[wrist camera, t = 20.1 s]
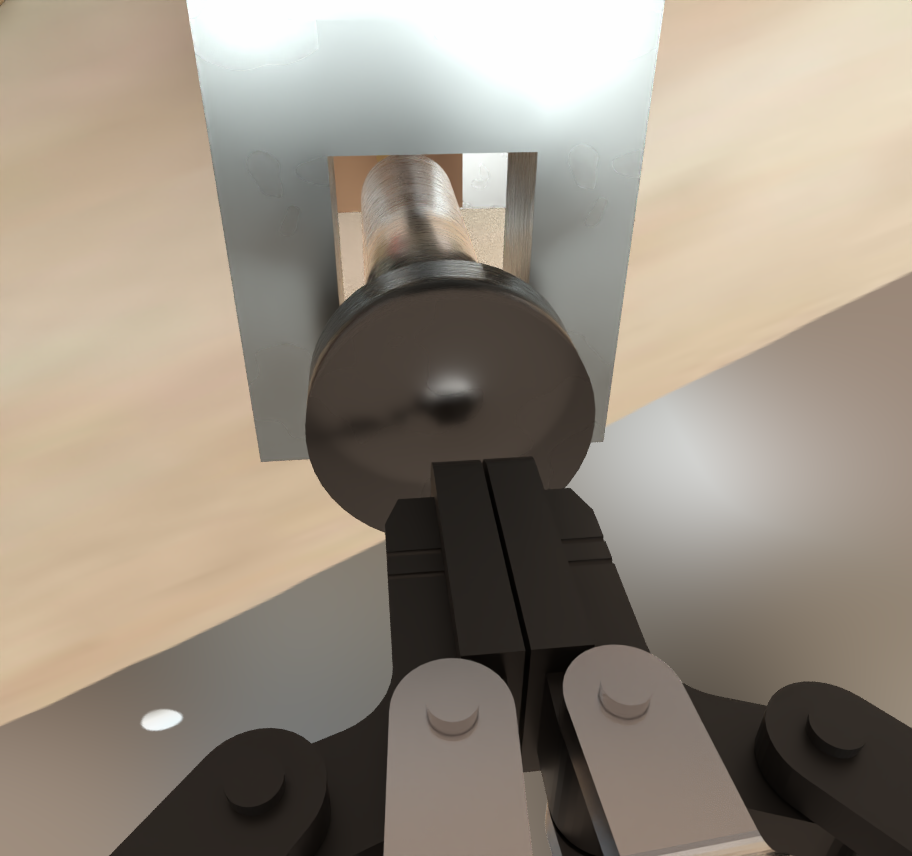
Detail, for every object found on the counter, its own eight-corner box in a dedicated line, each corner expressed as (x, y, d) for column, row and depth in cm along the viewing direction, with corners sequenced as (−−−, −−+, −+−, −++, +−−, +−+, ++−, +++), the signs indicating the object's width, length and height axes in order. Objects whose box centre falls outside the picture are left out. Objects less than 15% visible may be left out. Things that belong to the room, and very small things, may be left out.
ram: (330, 279, 25) (318, 551, 15) (316, 114, 22) (289, 305, 12) (486, 273, 26) (580, 532, 15) (491, 111, 23) (611, 293, 12)
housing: (337, 145, 39) (334, 226, 29) (328, 33, 36) (321, 82, 27) (438, 142, 39) (467, 220, 30) (436, 31, 37) (467, 78, 27)
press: (257, 202, 42) (128, 640, 17) (207, -169, 33) (-203, -354, 8) (515, 195, 43) (737, 592, 19) (534, -163, 34) (1003, -306, 10)
